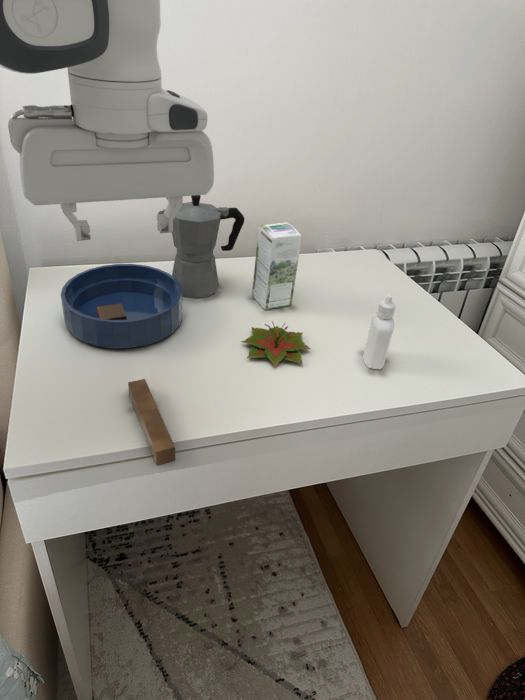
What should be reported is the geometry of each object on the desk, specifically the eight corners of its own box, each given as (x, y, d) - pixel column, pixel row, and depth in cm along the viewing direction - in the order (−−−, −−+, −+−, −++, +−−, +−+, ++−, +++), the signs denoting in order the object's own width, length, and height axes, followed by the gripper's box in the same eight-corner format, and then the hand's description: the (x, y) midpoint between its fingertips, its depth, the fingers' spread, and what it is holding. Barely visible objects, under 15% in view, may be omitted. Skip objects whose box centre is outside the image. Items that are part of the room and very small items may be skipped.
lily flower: (311, 332, 93) (315, 309, 90) (312, 374, 83) (316, 350, 80) (242, 324, 93) (244, 302, 90) (235, 366, 83) (237, 342, 80)
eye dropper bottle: (392, 357, 88) (410, 294, 81) (378, 373, 84) (395, 308, 78) (368, 347, 90) (383, 284, 83) (353, 362, 86) (368, 298, 79)
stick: (128, 395, 75) (156, 465, 65) (127, 382, 74) (156, 451, 64) (145, 391, 76) (175, 460, 66) (144, 378, 75) (175, 446, 65)
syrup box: (278, 291, 103) (286, 220, 95) (292, 306, 99) (302, 233, 91) (251, 296, 101) (257, 223, 93) (265, 311, 97) (273, 237, 88)
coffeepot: (161, 300, 97) (159, 204, 86) (157, 276, 104) (154, 185, 94) (244, 297, 100) (251, 204, 90) (235, 273, 108) (240, 185, 97)
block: (102, 340, 84) (100, 319, 82) (98, 327, 87) (96, 306, 85) (128, 337, 86) (126, 315, 83) (123, 323, 89) (121, 303, 86)
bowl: (75, 361, 81) (71, 330, 77) (58, 299, 94) (53, 271, 91) (196, 339, 88) (197, 310, 85) (163, 284, 102) (163, 258, 99)
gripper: (6, 113, 47) (31, 255, 55) (222, 113, 55) (216, 237, 63) (2, 98, 52) (25, 231, 60) (201, 100, 60) (198, 217, 68)
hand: (125, 234), depth 62 cm, fingers open, 8 cm apart
